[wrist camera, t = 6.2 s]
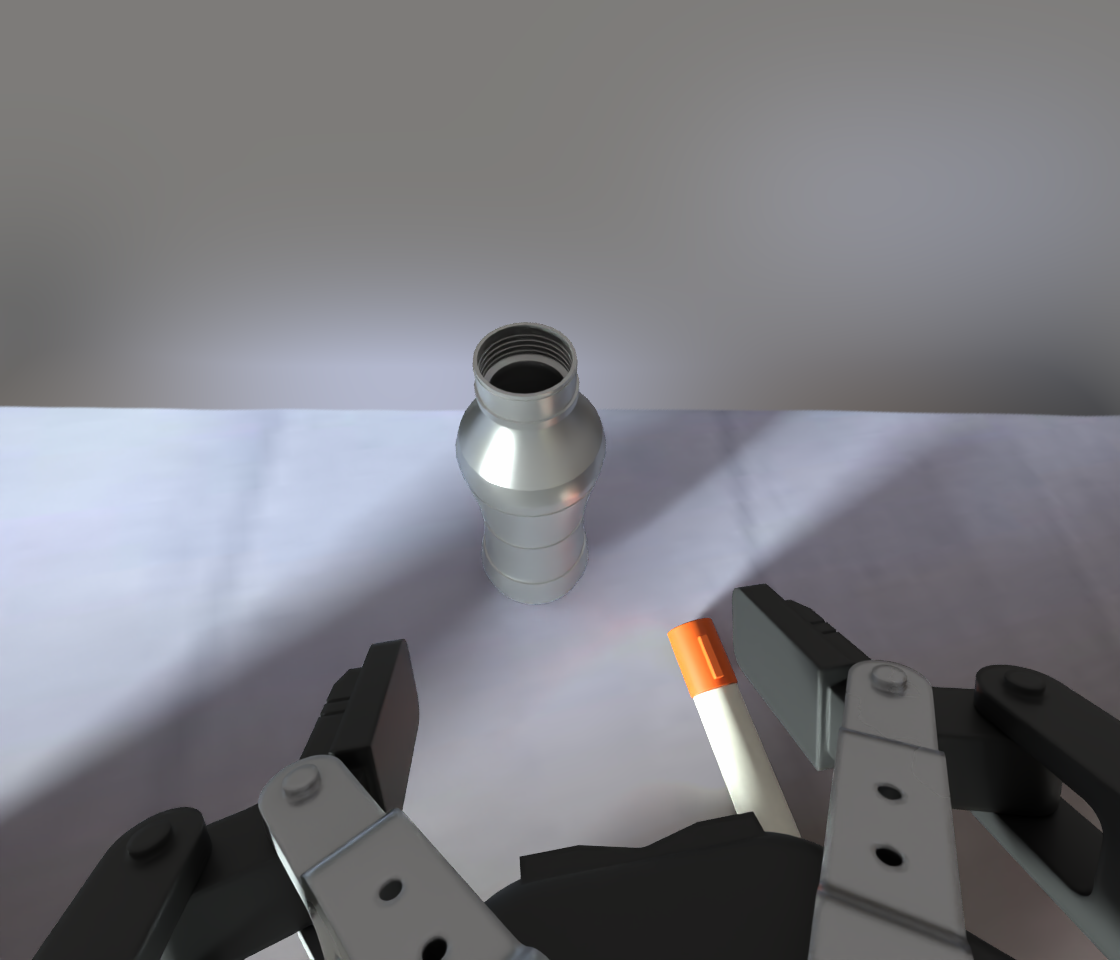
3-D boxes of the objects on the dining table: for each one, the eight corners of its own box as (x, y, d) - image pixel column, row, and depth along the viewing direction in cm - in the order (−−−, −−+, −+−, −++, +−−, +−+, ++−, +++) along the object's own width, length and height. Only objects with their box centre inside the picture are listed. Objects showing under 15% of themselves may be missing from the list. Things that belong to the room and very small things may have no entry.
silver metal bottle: (486, 524, 38) (434, 296, 21) (583, 521, 38) (611, 293, 21) (484, 616, 35) (419, 435, 17) (590, 612, 35) (629, 430, 18)
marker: (831, 933, 27) (864, 949, 24) (780, 953, 27) (808, 972, 24) (704, 626, 35) (718, 611, 32) (663, 638, 34) (673, 624, 31)
